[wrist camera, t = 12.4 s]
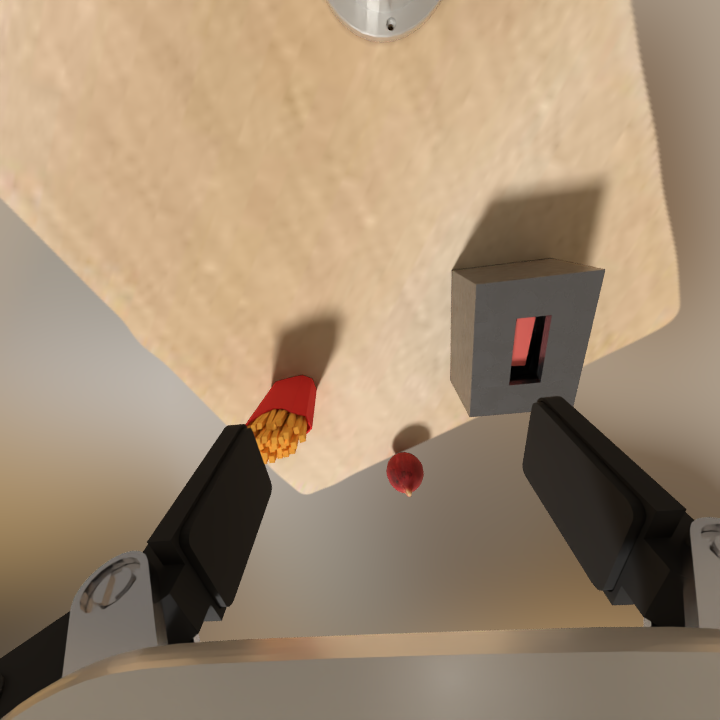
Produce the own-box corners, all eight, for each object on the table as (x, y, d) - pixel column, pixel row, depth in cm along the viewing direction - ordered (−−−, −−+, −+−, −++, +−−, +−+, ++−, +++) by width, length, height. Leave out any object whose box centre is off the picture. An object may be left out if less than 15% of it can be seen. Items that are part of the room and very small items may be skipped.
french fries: (315, 370, 43) (296, 427, 31) (325, 394, 45) (310, 455, 33) (259, 385, 44) (220, 444, 33) (270, 407, 46) (237, 471, 34)
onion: (379, 458, 50) (381, 498, 43) (397, 436, 48) (403, 475, 41) (406, 471, 52) (412, 512, 44) (426, 451, 49) (436, 490, 42)
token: (488, 346, 40) (495, 303, 38) (503, 345, 40) (511, 303, 37) (508, 366, 35) (517, 317, 32) (525, 365, 35) (535, 317, 32)
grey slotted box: (451, 270, 36) (476, 284, 28) (550, 258, 36) (605, 269, 27) (450, 380, 43) (469, 417, 35) (533, 372, 42) (572, 408, 34)
